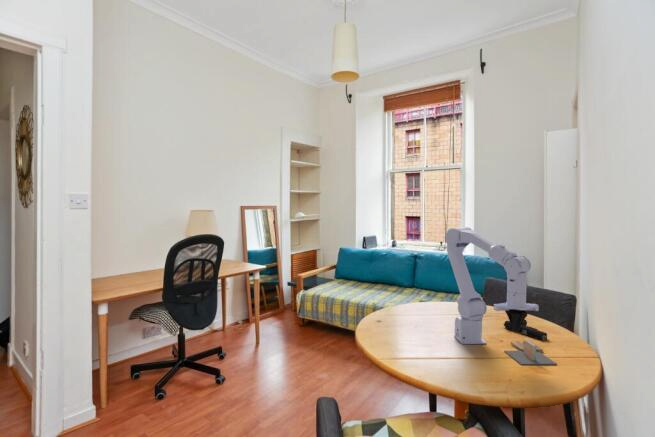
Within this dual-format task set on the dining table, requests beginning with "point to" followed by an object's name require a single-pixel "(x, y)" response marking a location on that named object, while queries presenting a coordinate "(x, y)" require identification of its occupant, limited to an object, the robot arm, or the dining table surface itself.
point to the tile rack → (521, 346)
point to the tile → (529, 349)
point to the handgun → (528, 330)
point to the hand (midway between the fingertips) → (515, 331)
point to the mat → (525, 360)
